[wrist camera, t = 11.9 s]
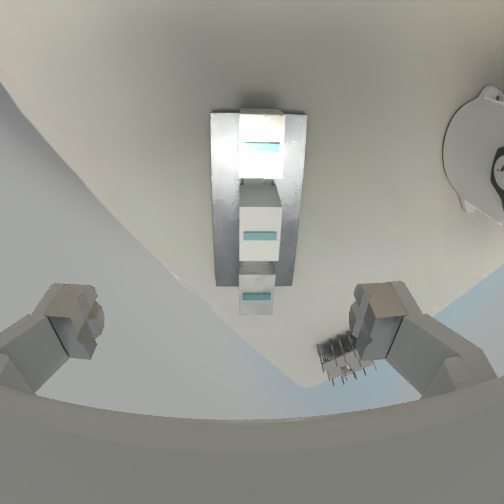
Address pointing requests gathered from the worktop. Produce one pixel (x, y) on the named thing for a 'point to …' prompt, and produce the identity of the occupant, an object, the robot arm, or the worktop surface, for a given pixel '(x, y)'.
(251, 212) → the block
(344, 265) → the worktop surface
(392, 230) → the worktop surface
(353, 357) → the building frame
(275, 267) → the rail plate
